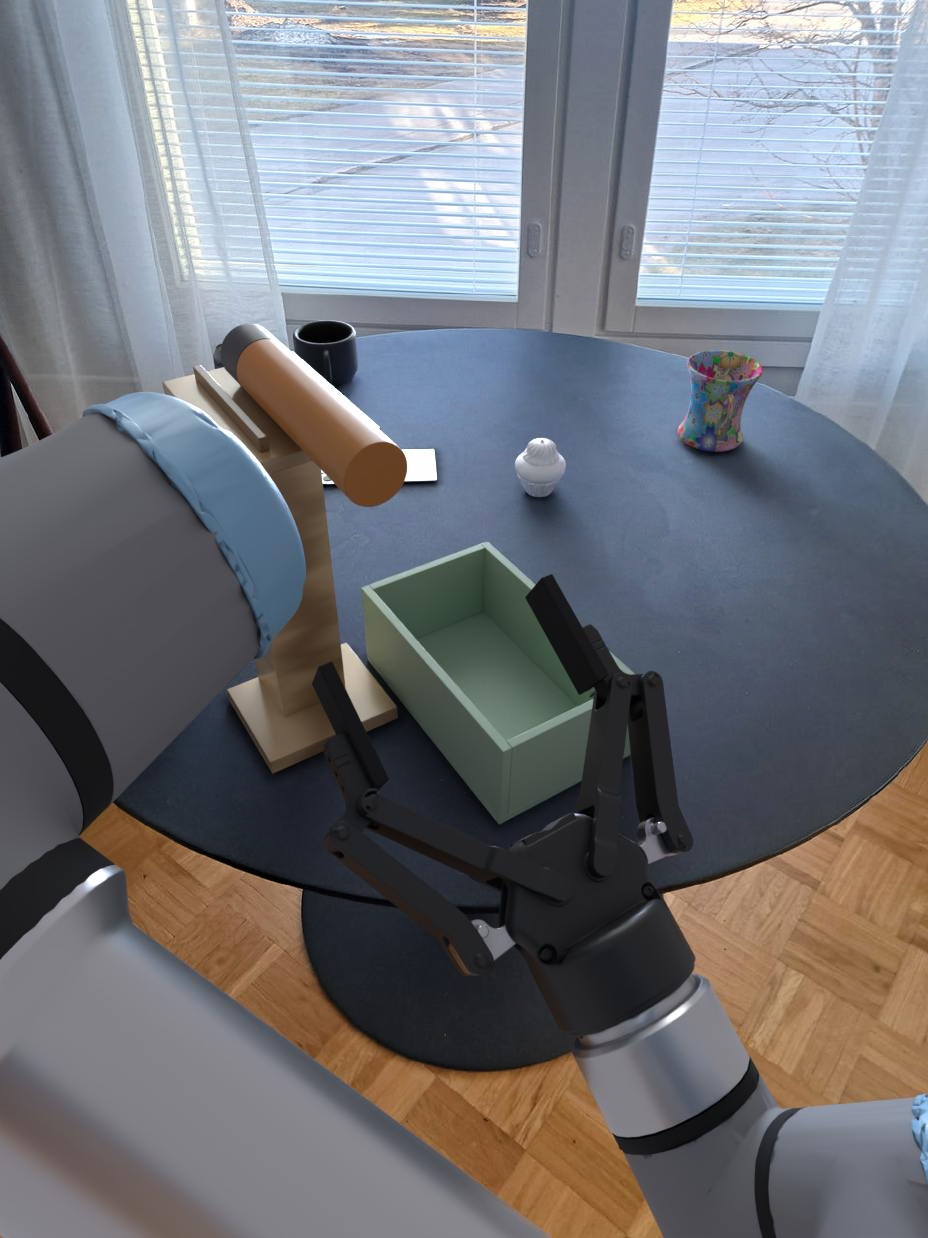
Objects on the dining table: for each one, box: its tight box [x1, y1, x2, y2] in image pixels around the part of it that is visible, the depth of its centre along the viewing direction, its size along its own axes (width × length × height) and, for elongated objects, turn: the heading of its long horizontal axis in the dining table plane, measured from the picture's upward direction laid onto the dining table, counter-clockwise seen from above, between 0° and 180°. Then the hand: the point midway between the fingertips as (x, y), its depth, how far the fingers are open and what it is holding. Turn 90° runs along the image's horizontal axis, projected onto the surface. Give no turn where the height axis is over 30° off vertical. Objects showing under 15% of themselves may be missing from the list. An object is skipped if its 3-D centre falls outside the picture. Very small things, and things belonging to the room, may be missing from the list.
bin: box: [360, 541, 635, 825], centre depth 76 cm, size 14×23×9 cm, turn 32°
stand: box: [161, 350, 399, 774], centre depth 68 cm, size 12×14×31 cm
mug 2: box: [677, 349, 764, 453], centre depth 112 cm, size 12×9×11 cm
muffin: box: [514, 437, 567, 498], centre depth 104 cm, size 6×6×7 cm
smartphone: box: [321, 448, 438, 487], centre depth 110 cm, size 8×1×16 cm
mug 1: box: [292, 319, 359, 387], centre depth 126 cm, size 12×9×7 cm
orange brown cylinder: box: [220, 323, 408, 508], centre depth 54 cm, size 4×19×4 cm, turn 33°
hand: (435, 625), depth 47 cm, fingers open, 13 cm apart
